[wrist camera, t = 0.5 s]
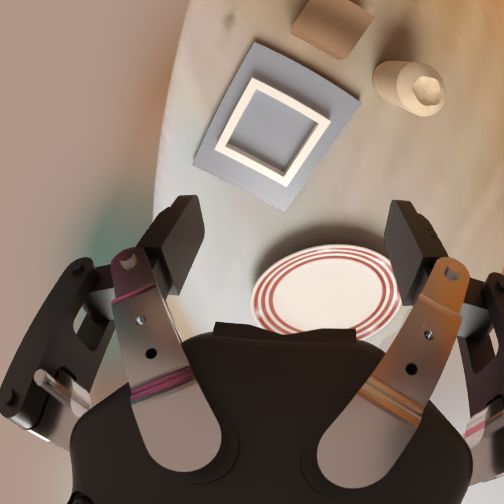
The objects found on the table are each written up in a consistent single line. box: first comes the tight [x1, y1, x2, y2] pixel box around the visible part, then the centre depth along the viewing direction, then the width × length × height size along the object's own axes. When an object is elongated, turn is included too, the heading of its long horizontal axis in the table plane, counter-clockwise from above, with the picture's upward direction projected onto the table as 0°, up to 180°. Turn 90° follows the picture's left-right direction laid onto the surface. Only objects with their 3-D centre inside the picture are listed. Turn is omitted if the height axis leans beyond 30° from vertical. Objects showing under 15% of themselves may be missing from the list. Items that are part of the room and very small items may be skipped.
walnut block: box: [291, 0, 375, 60], centre depth 20 cm, size 6×6×6 cm
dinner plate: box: [250, 244, 402, 340], centre depth 47 cm, size 27×27×3 cm
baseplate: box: [192, 42, 361, 212], centre depth 31 cm, size 18×14×2 cm
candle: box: [373, 61, 445, 116], centre depth 21 cm, size 6×6×10 cm
